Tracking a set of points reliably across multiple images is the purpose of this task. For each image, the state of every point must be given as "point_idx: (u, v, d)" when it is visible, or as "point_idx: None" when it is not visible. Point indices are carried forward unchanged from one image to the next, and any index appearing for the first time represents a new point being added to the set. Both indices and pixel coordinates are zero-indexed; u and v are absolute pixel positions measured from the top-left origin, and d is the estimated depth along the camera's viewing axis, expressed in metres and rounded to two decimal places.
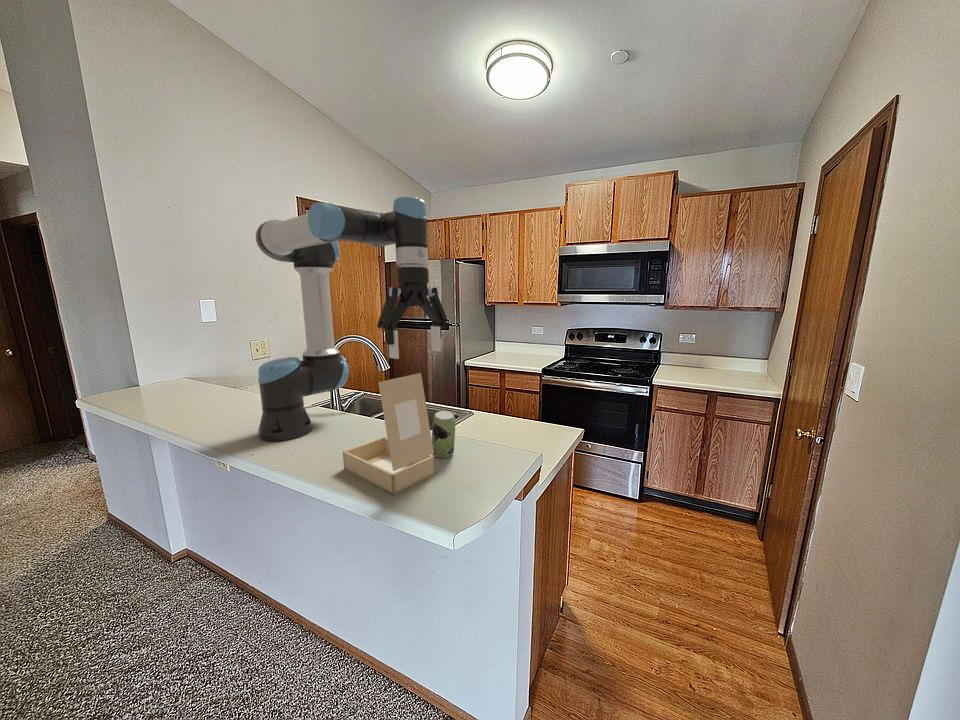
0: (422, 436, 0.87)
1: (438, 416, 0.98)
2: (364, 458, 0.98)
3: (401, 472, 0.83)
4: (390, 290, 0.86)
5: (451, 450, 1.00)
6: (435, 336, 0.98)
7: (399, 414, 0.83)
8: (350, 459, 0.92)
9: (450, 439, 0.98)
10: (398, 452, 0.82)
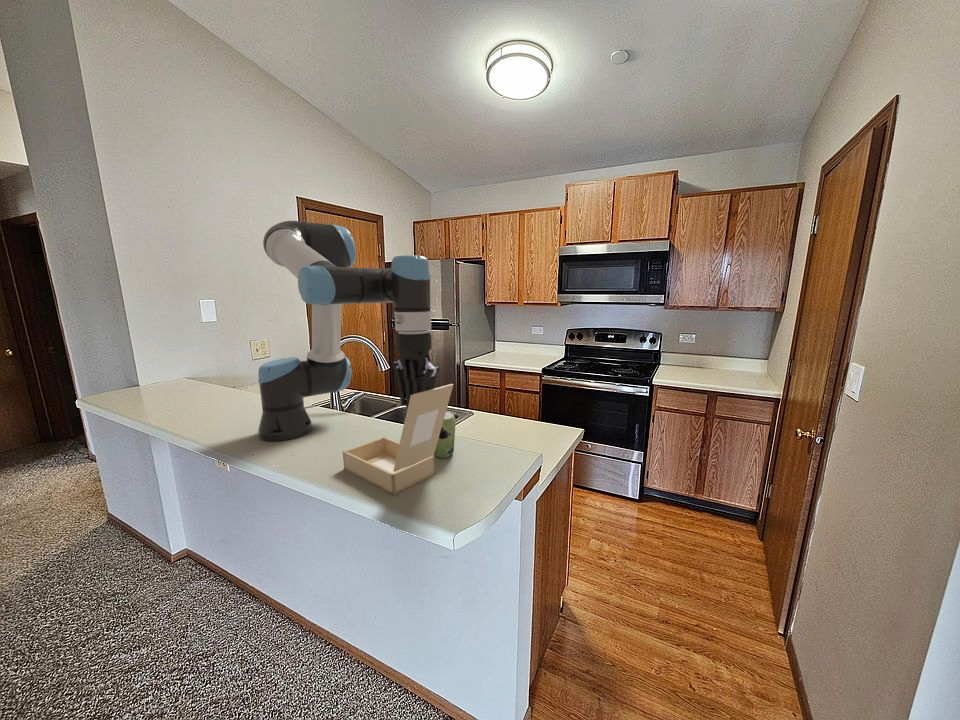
0: (430, 441, 0.86)
1: None
2: (364, 458, 0.98)
3: (401, 472, 0.83)
4: None
5: (451, 450, 1.00)
6: None
7: (418, 424, 0.79)
8: (350, 459, 0.92)
9: (450, 439, 0.98)
10: (404, 456, 0.81)
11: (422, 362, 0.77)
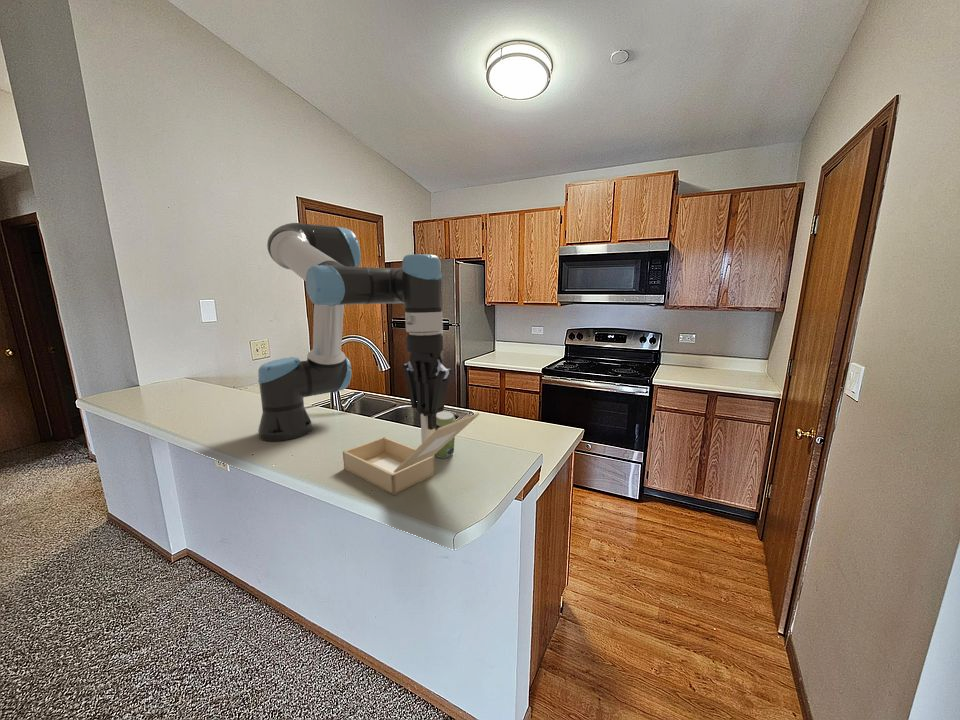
0: (436, 449, 0.85)
1: (438, 416, 0.98)
2: (364, 458, 0.98)
3: (401, 472, 0.83)
4: None
5: (451, 450, 1.00)
6: None
7: (433, 443, 0.77)
8: (350, 459, 0.92)
9: None
10: (408, 463, 0.80)
11: (434, 364, 0.75)
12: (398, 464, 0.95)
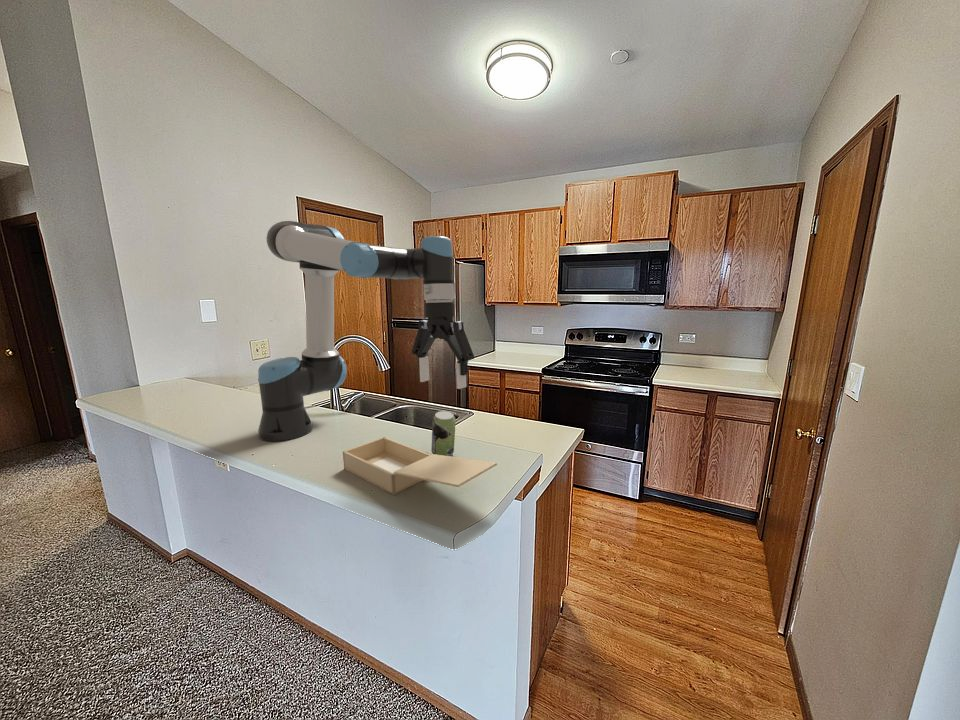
0: None
1: (438, 416, 0.98)
2: (364, 458, 0.98)
3: None
4: None
5: (451, 450, 1.00)
6: None
7: None
8: (350, 459, 0.92)
9: (450, 439, 0.98)
10: None
11: (447, 324, 0.92)
12: (398, 464, 0.95)
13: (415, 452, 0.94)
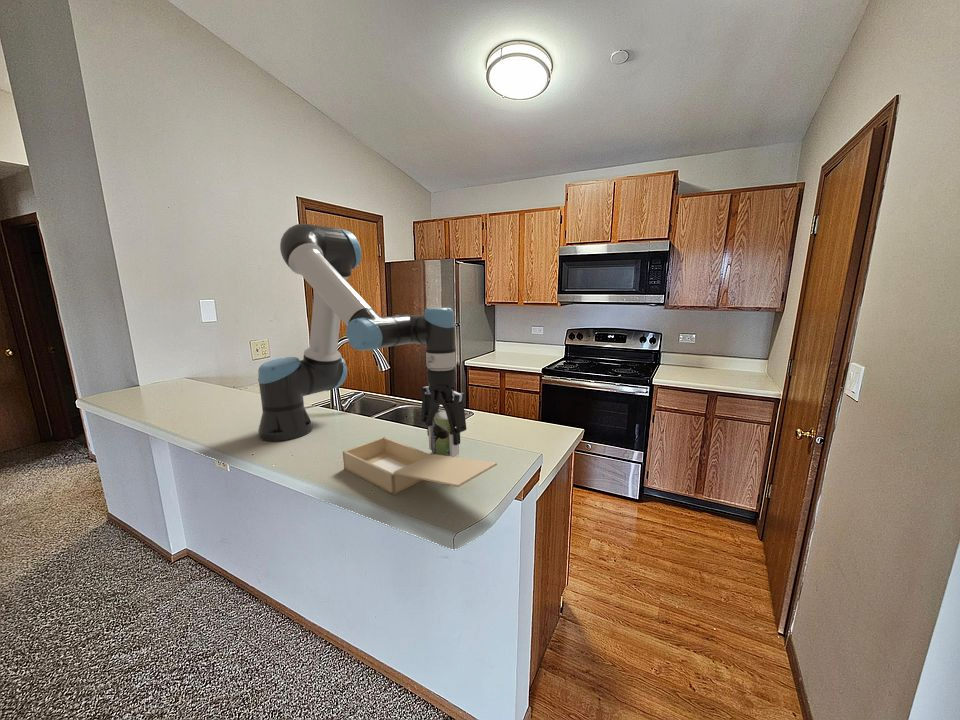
0: None
1: (438, 416, 0.98)
2: (364, 458, 0.98)
3: None
4: None
5: None
6: None
7: None
8: (350, 459, 0.92)
9: None
10: None
11: (449, 392, 0.95)
12: (398, 464, 0.95)
13: (415, 452, 0.94)
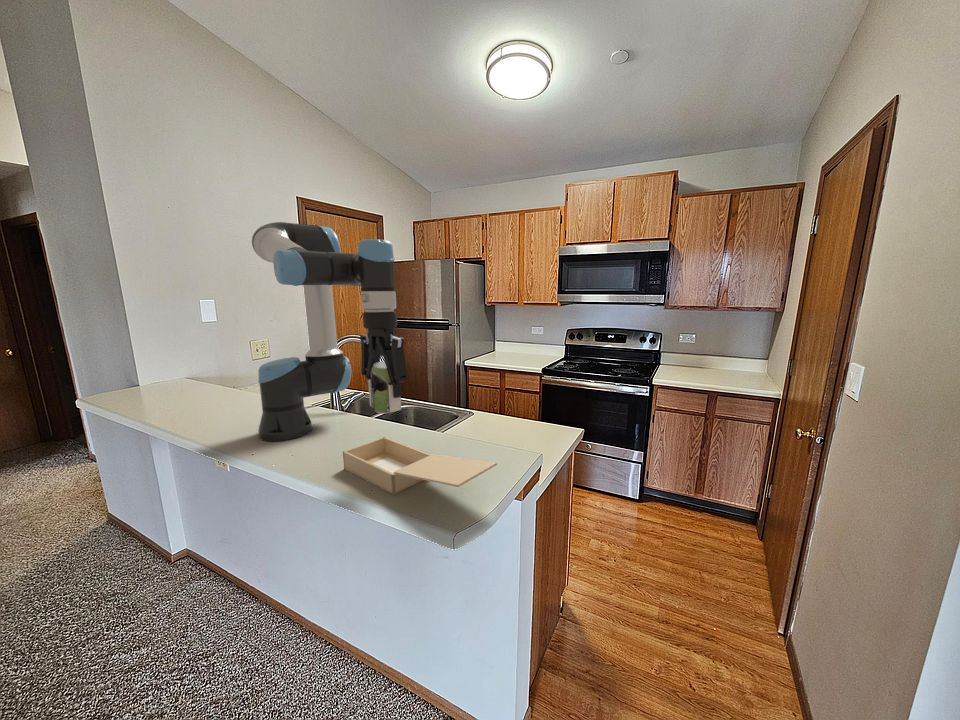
0: None
1: (377, 365, 0.86)
2: (364, 458, 0.98)
3: None
4: None
5: None
6: None
7: None
8: (350, 459, 0.92)
9: None
10: None
11: (387, 337, 0.84)
12: (398, 464, 0.95)
13: (415, 452, 0.94)
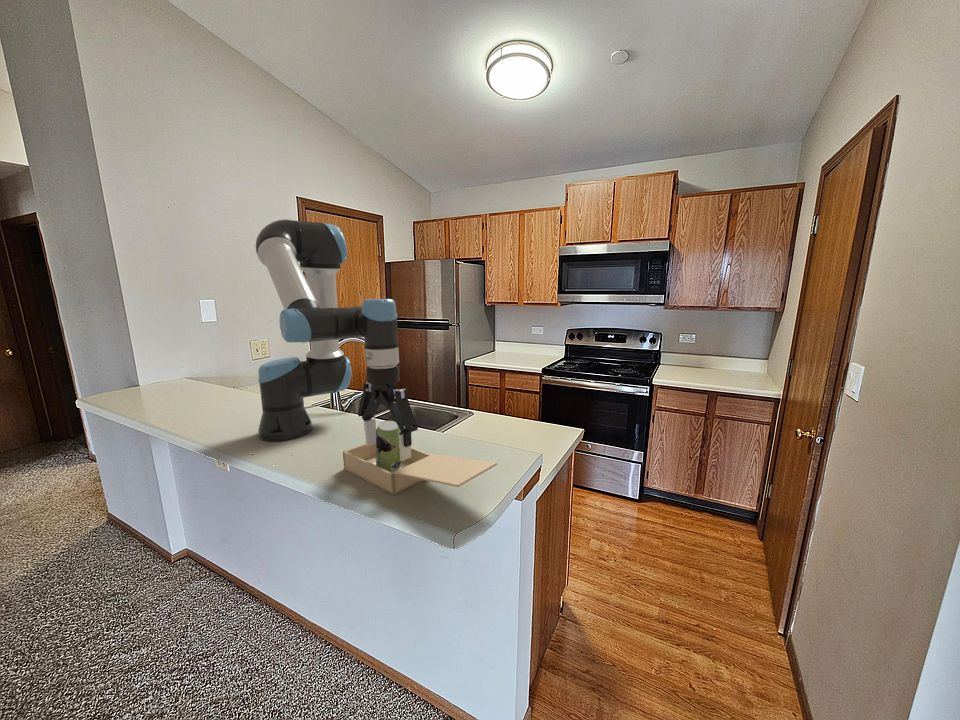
0: None
1: (382, 427, 0.89)
2: (364, 458, 0.98)
3: None
4: None
5: (397, 464, 0.91)
6: None
7: None
8: (350, 459, 0.92)
9: (395, 452, 0.89)
10: None
11: (390, 391, 0.86)
12: None
13: (415, 452, 0.94)
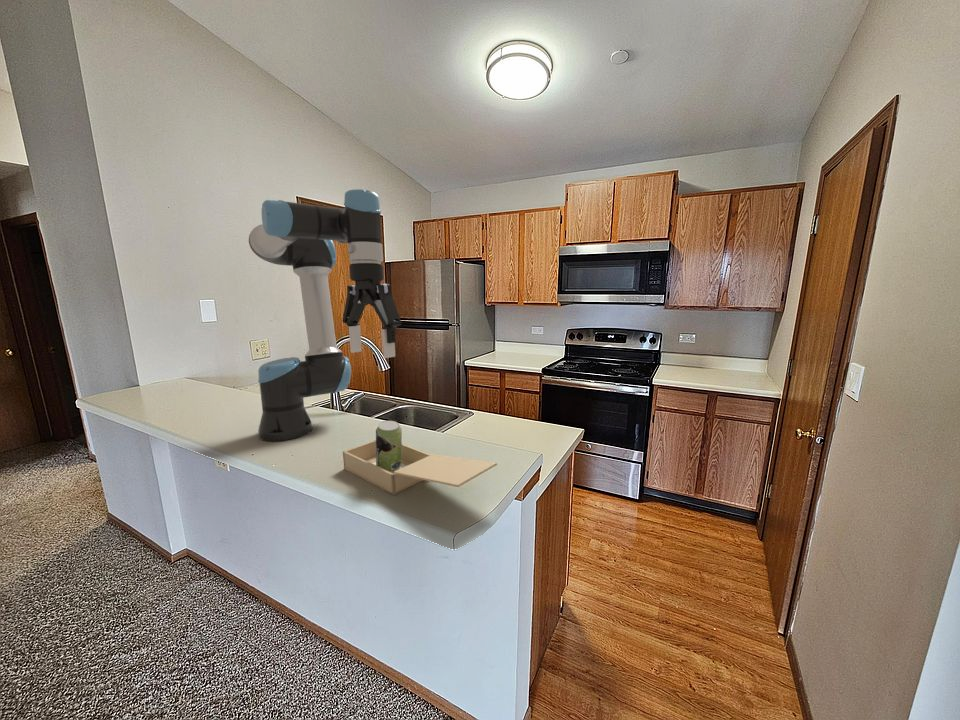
0: None
1: (382, 427, 0.89)
2: (364, 458, 0.98)
3: None
4: None
5: (397, 464, 0.91)
6: None
7: None
8: (350, 459, 0.92)
9: (395, 452, 0.89)
10: None
11: (373, 287, 0.84)
12: None
13: (415, 452, 0.94)
